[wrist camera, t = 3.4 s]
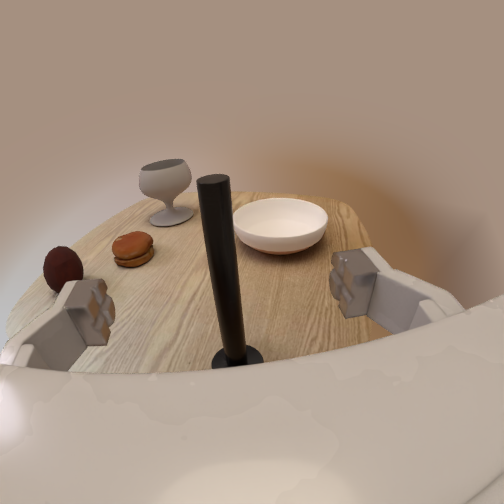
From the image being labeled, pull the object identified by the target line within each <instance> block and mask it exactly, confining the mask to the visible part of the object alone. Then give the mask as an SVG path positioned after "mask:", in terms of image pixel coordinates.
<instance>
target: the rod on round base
mask: <svg viewBox="0 0 504 504" xmlns="http://www.w3.org/2000/svg"><path fill="white" fill-rule="evenodd" d="M196 182H197V190H198V198H199V205H200V212H201V219H202V226H203V233H204V239H205V246H206V252H207V259H208V265H209V271H210V277H211V283H212V289H213V294H214V300H215V305H216V311H217V316H218V322H219V327H220V332H221V337H222V342H223V348H222V349H221V350H219V351H218V352H217V353H216V355H215V356H214V358H213V360H212V369H219V368H228V367H237V366H245V365H252V364H259V363H264V361H263V357H262V355H261V354H260V353H259V351H258V350H256V349H255V348H253V347H251V346H249V345H246V342H245V332H244V323H243V314H242V304H241V294H240V285H239V275H238V265H237V254H236V244H235V233H234V222H233V211H232V200H231V189H230V178H229V176H227V175H224V174H213V175H207V176H204V177H201V178H199V179H197V181H196Z"/></svg>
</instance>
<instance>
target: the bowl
mask: <svg viewBox="0 0 504 504" xmlns="http://www.w3.org/2000/svg"><path fill="white" fill-rule="evenodd" d="M233 222H234V230H235V232H236V234H237V236H238V237H239V239H240V240H241V241H242V242H244V243H245V244H247V245H248V246H250V247H251V248H253V249H255V250H258V251H261V252H264V253H269V254H275V255H285V254H291V253H296V252H300V251H303V250H305V249H307V248H309V247H311V246H312V245H314V244H315V243H317V242H318V241H319V240H320V239H321V238H322V236H323V234H324V232H325V230H326V227H327V222H328V216H327V213H326V212H325V211H324V210H323V209H322V208H321V207H319V206H317V205H315V204H313V203H310V202H307V201H303V200H299V199H291V198H271V199H263V200H258V201H254V202H251V203H248V204H245V205H244V206H242V207H240V208H239V209H237V210H236V211H235V213H234V214H233Z"/></svg>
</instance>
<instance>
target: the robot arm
mask: <svg viewBox="0 0 504 504" xmlns="http://www.w3.org/2000/svg"><path fill="white" fill-rule="evenodd" d="M331 264H332V265H333V267H334V269H333V270H332V271H331V272H330V276H329V286H330V291H331V294H332V296H333V297H334V298H335V299H336V300H338V301H339V306H338V307H339V308H340V310H341V312H342V314H343V316H344V317H345V319H347V318H352V317H358V316H363V315H367V317H369V318H370V319H372V320H373V321H375V322H376V323H378V324H379V325H381V326H382V327H383V328H385V329H386V330H388V331H389V332H391V333H392V334H394V335H391V336H388V337H384V338H380V339H377V340H373V341H369V342H366V343H362V344H358V345H354V346H350V347H345V348H341V349H337V350H332V351H327V352H323V353H318V354H313V355H308V356H302V357H297V358H291V359H285V360H279V361H273V362H266V363H259V364H252V365H245V366H237V367H228V368H219V369H208V370H196V371H182V372H164V373H87V372H69V371H68V370H69V369H70V368H71V366H72V365H73V364H74V363H75V361H76V360H77V359H78V358H79V357H80V356H81V354H82V353H83V352H84V351H85V350H86V348H87V346H107V343H108V340H109V337H110V333H111V331H110V329H109V327H110V326H111V325H112V324H113V323H114V320H115V306H114V302H113V300H112V298H111V297H110V296H109V295H107V294H106V292H107V289H108V288H107V285H106V283H105V281H104V280H103V279H89V280H76V281H69V282H66V283H65V285H64V287H63V288H62V290H61V292H60V294H59V295H58V297H57V299H56V301H55V302H54V304H53V306H52V308H51V309H47V310H46V311H44V312H43V313H42V314H41V315H39V316H38V317H37V318H35V319H34V320H33V321H32V322H30V323H29V324H28V325H26V326H25V327H24V328H23V329H22V330H20V331H19V332H18V333H17V334H15V335H14V336H13V337H12V338H10V339H9V340H8V341H7V342H6V344H5V346H4V348H3V350H2V352H1V354H0V504H504V294H502V295H500V296H498V297H496V298H494V299H491V300H489V301H487V302H484V303H482V304H480V305H477V306H475V307H472V308H470V309H467V310H465V309H464V308H463V307H462V306H461V304H460V303H459V302H458V301H457V300H456V299H455V298H454V297H453V296H452V294H450V292H448V291H446V290H443V289H441V288H439V287H436V286H434V285H432V284H430V283H428V282H425V281H423V280H421V279H418V278H416V277H414V276H411V275H409V274H407V273H404V272H402V271H400V270H397V269H396V270H393V269H392V268H391V267H390V266H389V264H388V263H387V262H386V261H385V260H384V259H383V258H382V257H381V256H380V255H379V253H378V252H377V251H376V250H375V249H374V248H372V247H366V248H360V249H354V250H348V251H341V252H334V253H333V255H332V259H331Z"/></svg>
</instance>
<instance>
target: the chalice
mask: <svg viewBox="0 0 504 504" xmlns="http://www.w3.org/2000/svg"><path fill="white" fill-rule="evenodd" d="M191 179H192V176H191V172H190V169H189V167H188V165H187V163H186V162H185V161H184V160H183V159H170V160H163V161H159V162H154V163H152V164H149V165H146V166H144V167H143V168H142V169H141V171H140V175H139V187H140V190H141V191H142V193H143V194H144V195H146V196H148V197H151V198H155V199H158V200H161V201H163V202H164V203H165V205H166V209H165V210H162V211H159V212H157V213H156V214H154V215H153V216H152V217H151V219H150V222H151V223H152V224H153V225H156V226H170V225H175V224H178V223H181V222H184V221H186V220H188V219H189V218H190V217H191V216H192V215H193V211H192V210H191V209H189V208H186V207H173V201H174V199H175V198H176V197H177V196H178V195H179V194H180V193H182V192H183V191H184V190H186V189H187V188H188V187H189V185H190V183H191Z"/></svg>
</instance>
